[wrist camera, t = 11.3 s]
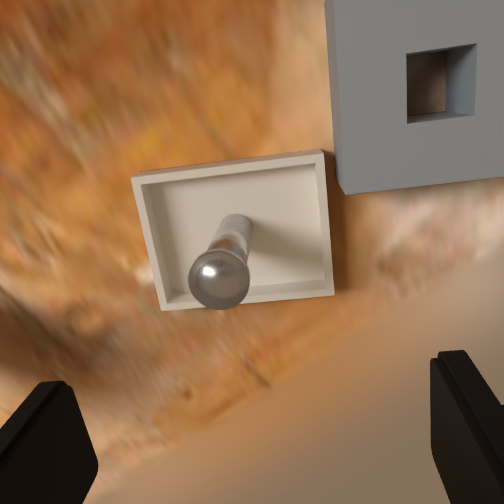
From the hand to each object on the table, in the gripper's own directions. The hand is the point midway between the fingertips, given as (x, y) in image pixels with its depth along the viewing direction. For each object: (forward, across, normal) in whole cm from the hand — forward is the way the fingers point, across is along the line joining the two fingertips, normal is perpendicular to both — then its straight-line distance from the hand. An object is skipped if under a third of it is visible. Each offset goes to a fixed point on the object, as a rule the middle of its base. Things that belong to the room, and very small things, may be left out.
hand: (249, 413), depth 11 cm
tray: (+24, +3, +2) cm, 25 cm away
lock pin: (+24, +4, +2) cm, 24 cm away
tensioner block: (+25, -11, -8) cm, 28 cm away
